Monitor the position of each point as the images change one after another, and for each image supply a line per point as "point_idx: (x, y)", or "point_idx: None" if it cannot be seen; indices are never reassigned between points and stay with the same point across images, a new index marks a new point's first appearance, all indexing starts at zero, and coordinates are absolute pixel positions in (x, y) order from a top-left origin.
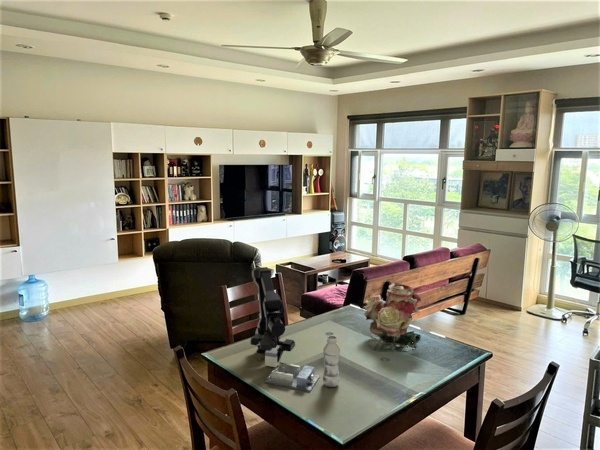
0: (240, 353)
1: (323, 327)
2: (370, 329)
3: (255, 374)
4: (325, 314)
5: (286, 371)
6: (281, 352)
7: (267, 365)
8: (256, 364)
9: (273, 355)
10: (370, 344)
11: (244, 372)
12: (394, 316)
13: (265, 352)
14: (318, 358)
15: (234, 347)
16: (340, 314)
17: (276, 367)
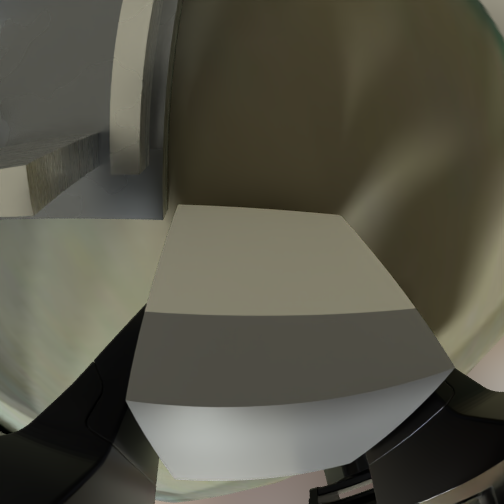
0: (478, 322)
1: (175, 486)
2: None
3: (389, 25)
4: (204, 498)
5: (8, 148)
6: (22, 435)
7: (307, 213)
8: (416, 235)
9: (209, 356)
10: (2, 433)
11: (478, 73)
12: None
13: (442, 366)
14: (33, 391)
15: (482, 348)
16: (172, 497)
17: (133, 159)
